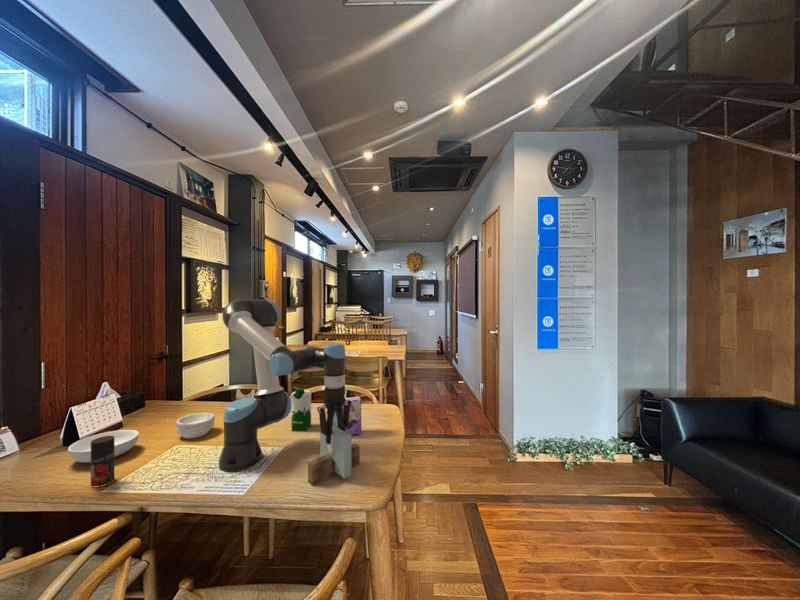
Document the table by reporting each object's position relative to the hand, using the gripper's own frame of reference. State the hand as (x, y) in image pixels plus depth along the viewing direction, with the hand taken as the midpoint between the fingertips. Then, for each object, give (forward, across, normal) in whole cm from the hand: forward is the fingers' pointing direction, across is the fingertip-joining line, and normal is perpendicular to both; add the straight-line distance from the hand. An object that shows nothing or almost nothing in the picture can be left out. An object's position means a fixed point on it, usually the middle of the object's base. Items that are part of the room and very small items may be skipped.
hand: (335, 449), depth 113 cm
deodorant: (+9, -61, +52) cm, 81 cm away
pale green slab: (+7, 0, 0) cm, 7 cm away
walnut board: (+8, 0, 0) cm, 8 cm away
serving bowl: (+9, -60, +77) cm, 98 cm away
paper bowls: (+9, -29, +75) cm, 81 cm away
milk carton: (+9, +10, +46) cm, 48 cm away
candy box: (+9, +22, +25) cm, 34 cm away
